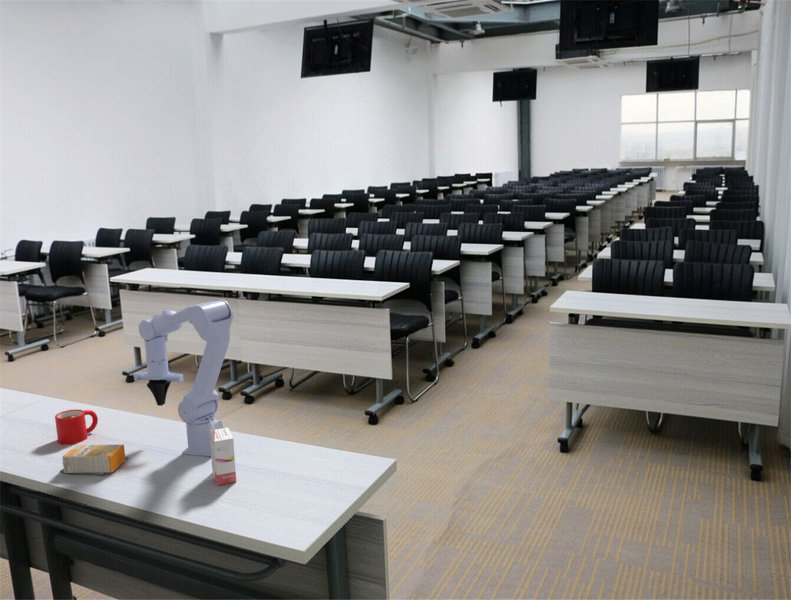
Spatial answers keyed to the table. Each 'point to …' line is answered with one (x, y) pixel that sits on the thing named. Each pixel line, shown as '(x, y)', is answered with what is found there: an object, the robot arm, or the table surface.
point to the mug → (74, 426)
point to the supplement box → (93, 458)
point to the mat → (92, 473)
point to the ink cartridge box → (222, 455)
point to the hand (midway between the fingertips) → (161, 404)
